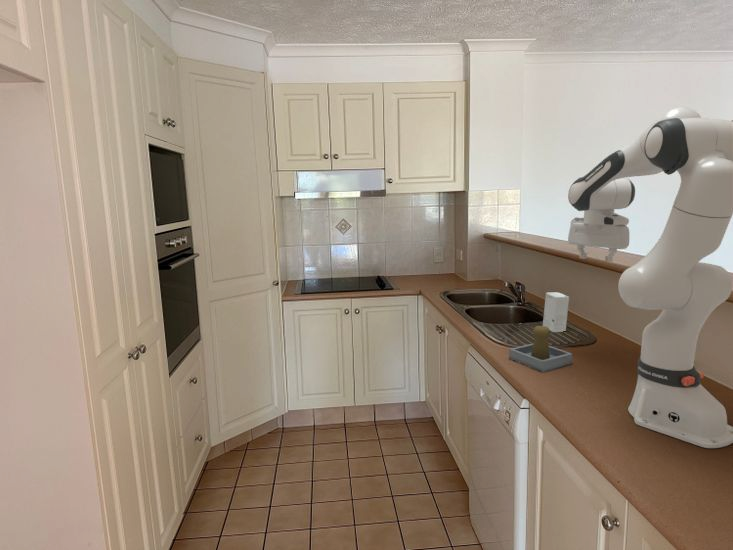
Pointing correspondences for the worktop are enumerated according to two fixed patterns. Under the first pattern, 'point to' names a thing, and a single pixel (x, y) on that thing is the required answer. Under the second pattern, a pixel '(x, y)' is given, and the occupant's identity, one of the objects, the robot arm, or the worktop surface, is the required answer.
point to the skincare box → (555, 311)
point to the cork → (541, 343)
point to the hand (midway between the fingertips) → (595, 260)
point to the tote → (524, 356)
